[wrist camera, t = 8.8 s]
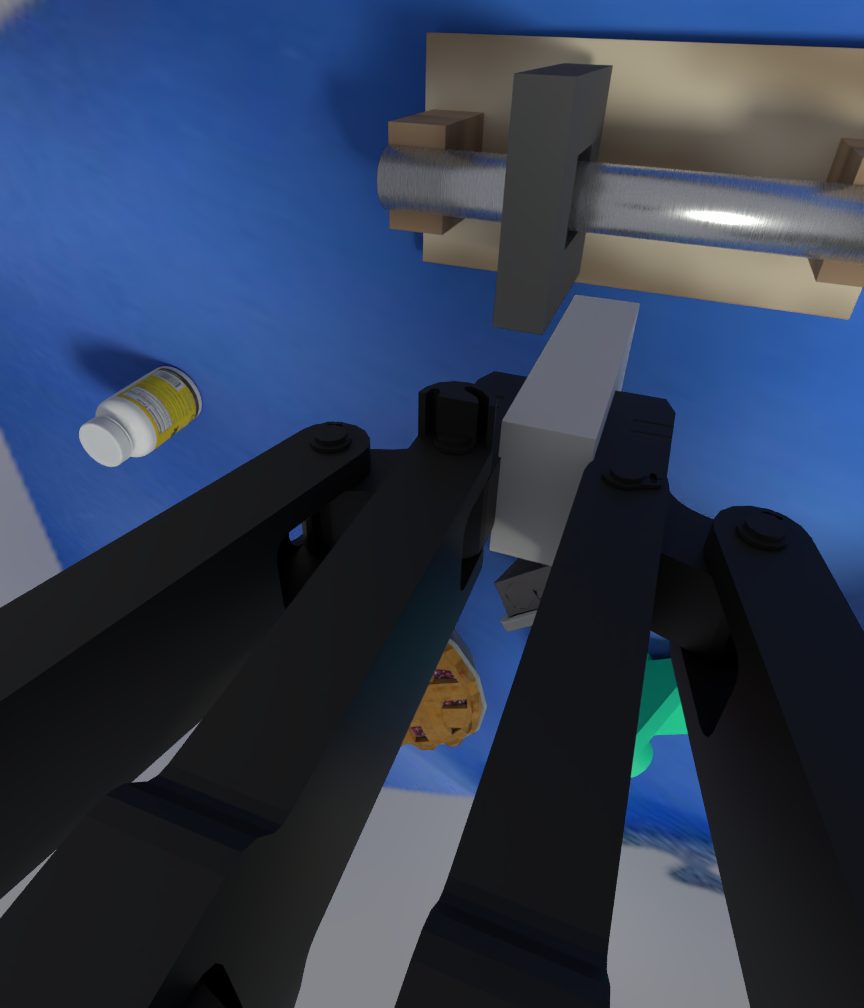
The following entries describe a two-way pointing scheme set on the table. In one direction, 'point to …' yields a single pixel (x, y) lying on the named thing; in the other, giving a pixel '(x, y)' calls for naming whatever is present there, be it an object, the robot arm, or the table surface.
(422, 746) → the pie
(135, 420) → the supplement bottle
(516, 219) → the collar
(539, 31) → the table surface
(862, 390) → the table surface
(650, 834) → the table surface
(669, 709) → the camera mount
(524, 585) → the electrical switch
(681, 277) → the pipe stand
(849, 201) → the pipe
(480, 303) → the table surface
